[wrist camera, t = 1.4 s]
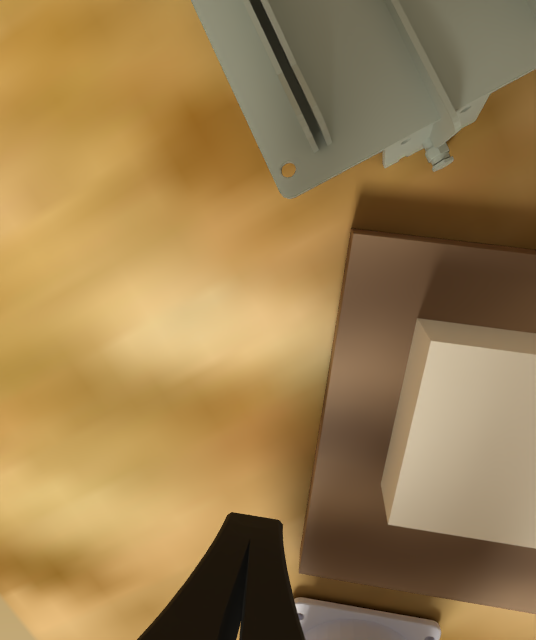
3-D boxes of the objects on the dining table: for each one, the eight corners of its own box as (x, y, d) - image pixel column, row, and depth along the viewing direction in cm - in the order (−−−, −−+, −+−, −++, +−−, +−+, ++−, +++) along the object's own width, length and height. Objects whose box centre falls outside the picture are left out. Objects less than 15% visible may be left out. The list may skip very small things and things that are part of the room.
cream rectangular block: (516, 505, 21) (541, 549, 18) (380, 484, 21) (388, 524, 19) (573, 338, 18) (612, 364, 16) (417, 318, 18) (431, 340, 16)
